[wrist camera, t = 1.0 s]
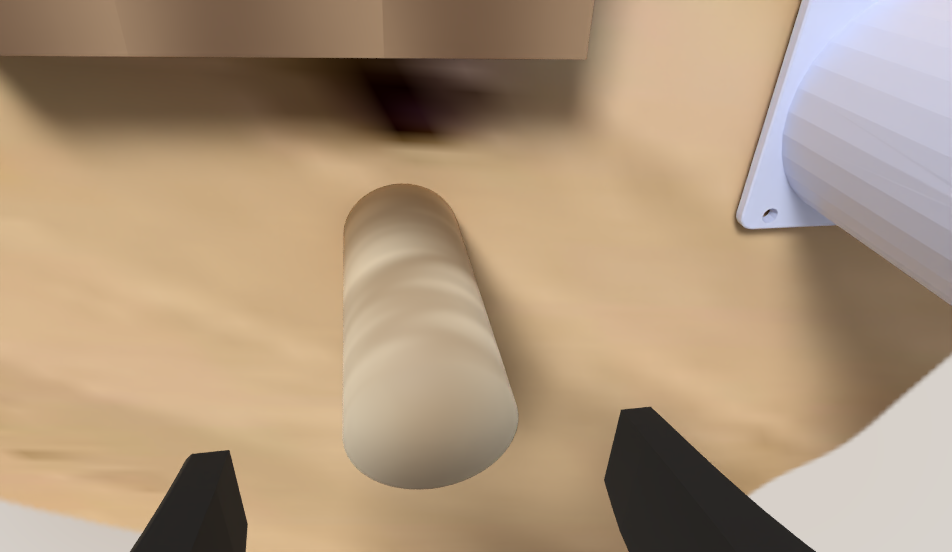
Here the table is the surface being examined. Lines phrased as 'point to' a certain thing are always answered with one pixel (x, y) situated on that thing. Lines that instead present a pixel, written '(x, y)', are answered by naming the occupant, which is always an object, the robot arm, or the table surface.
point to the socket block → (298, 28)
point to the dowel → (418, 347)
